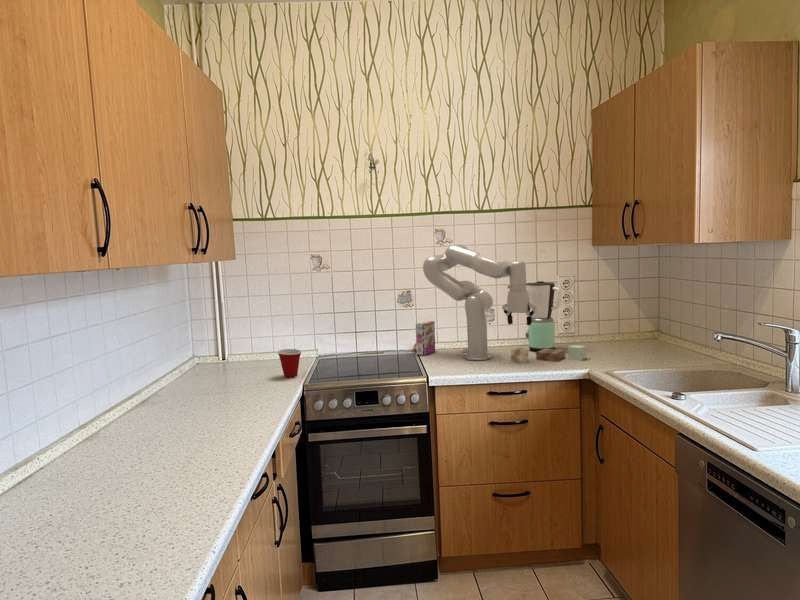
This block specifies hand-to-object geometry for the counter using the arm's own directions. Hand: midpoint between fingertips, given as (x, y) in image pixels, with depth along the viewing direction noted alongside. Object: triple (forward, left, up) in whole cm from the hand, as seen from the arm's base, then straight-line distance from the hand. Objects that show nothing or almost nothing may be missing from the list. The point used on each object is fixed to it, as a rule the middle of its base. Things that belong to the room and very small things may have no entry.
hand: (519, 324), depth 278 cm
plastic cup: (-75, -75, -18) cm, 108 cm away
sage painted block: (+21, +17, -18) cm, 32 cm away
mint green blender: (-2, +29, -18) cm, 34 cm away
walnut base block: (+10, +12, -18) cm, 24 cm away
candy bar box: (-51, -5, -18) cm, 55 cm away
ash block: (0, 0, -18) cm, 18 cm away
